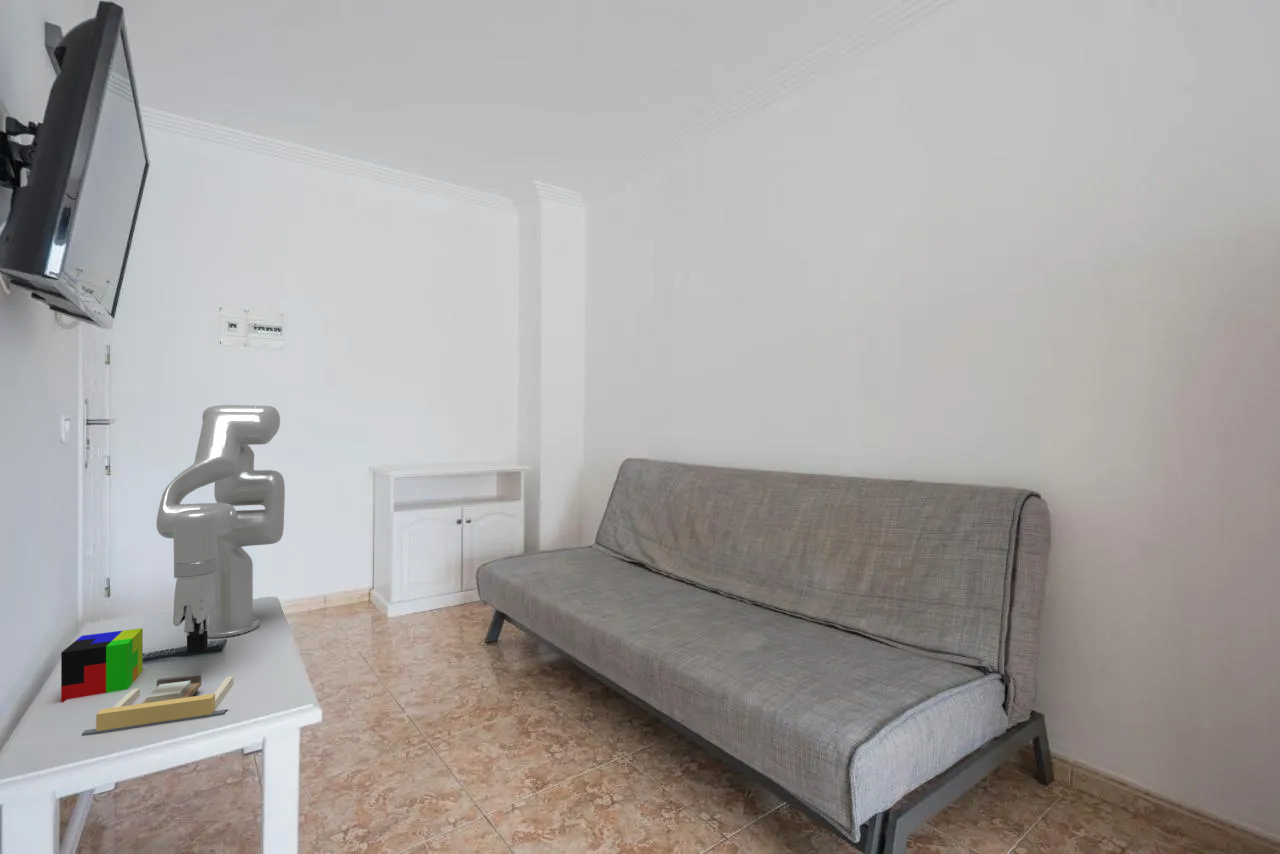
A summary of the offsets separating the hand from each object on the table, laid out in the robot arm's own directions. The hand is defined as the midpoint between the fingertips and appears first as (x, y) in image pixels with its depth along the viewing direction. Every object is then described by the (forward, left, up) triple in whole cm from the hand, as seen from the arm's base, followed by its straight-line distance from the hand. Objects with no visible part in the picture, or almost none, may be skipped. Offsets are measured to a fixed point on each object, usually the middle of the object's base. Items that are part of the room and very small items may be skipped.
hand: (197, 650), depth 124 cm
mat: (+8, 0, -6) cm, 10 cm away
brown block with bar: (+14, 0, -5) cm, 15 cm away
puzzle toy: (-1, -16, -6) cm, 18 cm away
